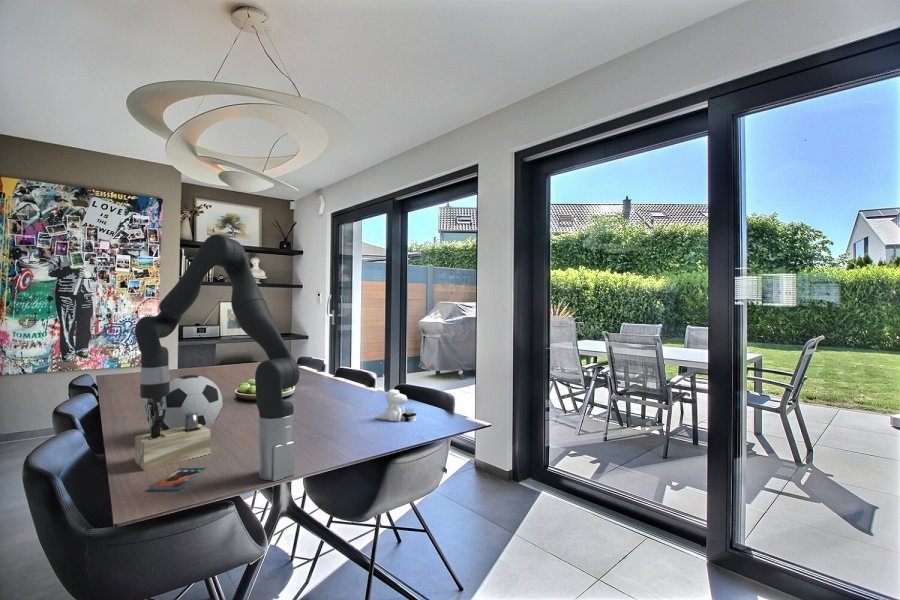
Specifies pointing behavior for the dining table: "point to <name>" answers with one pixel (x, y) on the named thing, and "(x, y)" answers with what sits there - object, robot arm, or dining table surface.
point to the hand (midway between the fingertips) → (155, 436)
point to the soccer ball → (191, 401)
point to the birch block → (171, 447)
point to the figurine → (396, 408)
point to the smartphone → (176, 479)
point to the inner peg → (191, 422)
